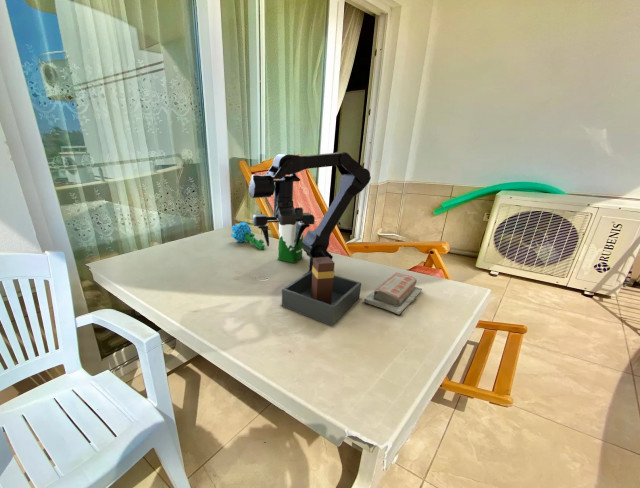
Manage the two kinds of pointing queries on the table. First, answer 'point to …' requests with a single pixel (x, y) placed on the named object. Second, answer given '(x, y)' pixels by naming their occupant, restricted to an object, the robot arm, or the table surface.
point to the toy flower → (245, 235)
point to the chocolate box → (322, 279)
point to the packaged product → (394, 293)
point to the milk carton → (289, 244)
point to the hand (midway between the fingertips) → (282, 245)
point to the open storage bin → (301, 301)
